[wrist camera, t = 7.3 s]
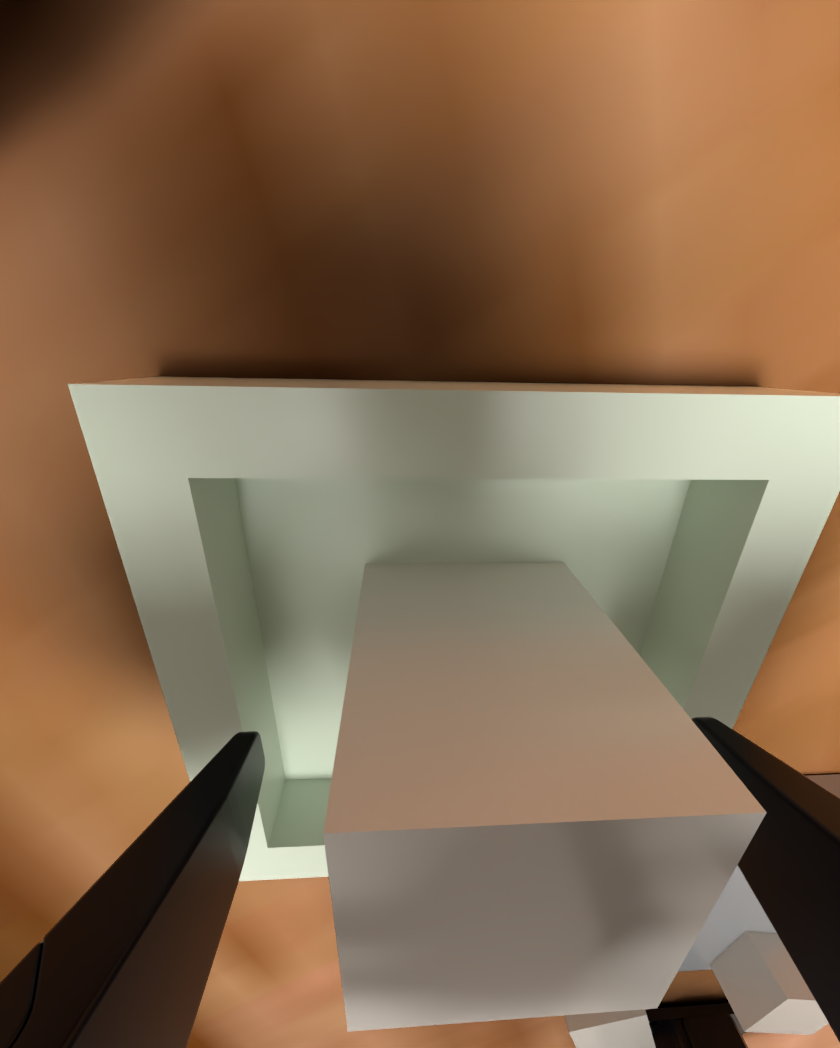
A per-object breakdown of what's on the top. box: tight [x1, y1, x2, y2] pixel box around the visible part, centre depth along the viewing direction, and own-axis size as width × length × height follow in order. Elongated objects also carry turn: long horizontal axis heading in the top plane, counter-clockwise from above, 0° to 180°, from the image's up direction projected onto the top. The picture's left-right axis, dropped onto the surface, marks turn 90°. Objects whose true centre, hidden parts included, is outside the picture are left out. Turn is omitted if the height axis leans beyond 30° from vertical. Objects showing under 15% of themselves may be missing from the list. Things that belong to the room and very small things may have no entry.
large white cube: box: [323, 562, 767, 1032], centre depth 8 cm, size 5×5×6 cm
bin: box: [68, 376, 840, 881], centre depth 10 cm, size 14×14×2 cm
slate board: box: [565, 774, 840, 1048], centre depth 16 cm, size 13×12×3 cm
